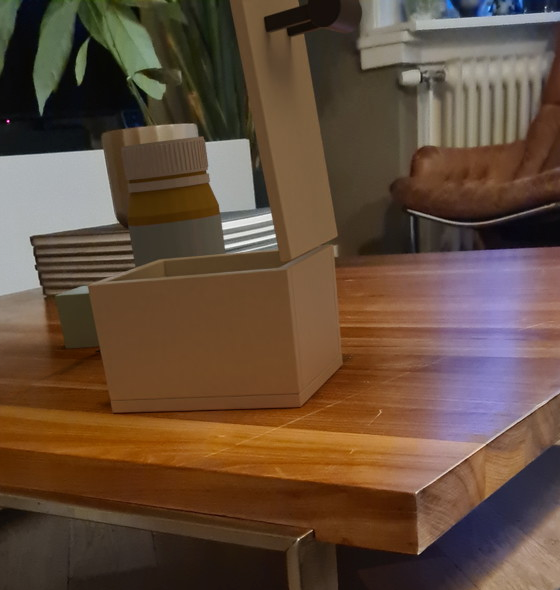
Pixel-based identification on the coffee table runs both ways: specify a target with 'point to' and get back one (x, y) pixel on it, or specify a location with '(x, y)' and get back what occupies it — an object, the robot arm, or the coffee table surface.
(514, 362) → the coffee table surface
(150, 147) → the bottle
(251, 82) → the lid
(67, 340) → the block
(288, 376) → the tan open box
